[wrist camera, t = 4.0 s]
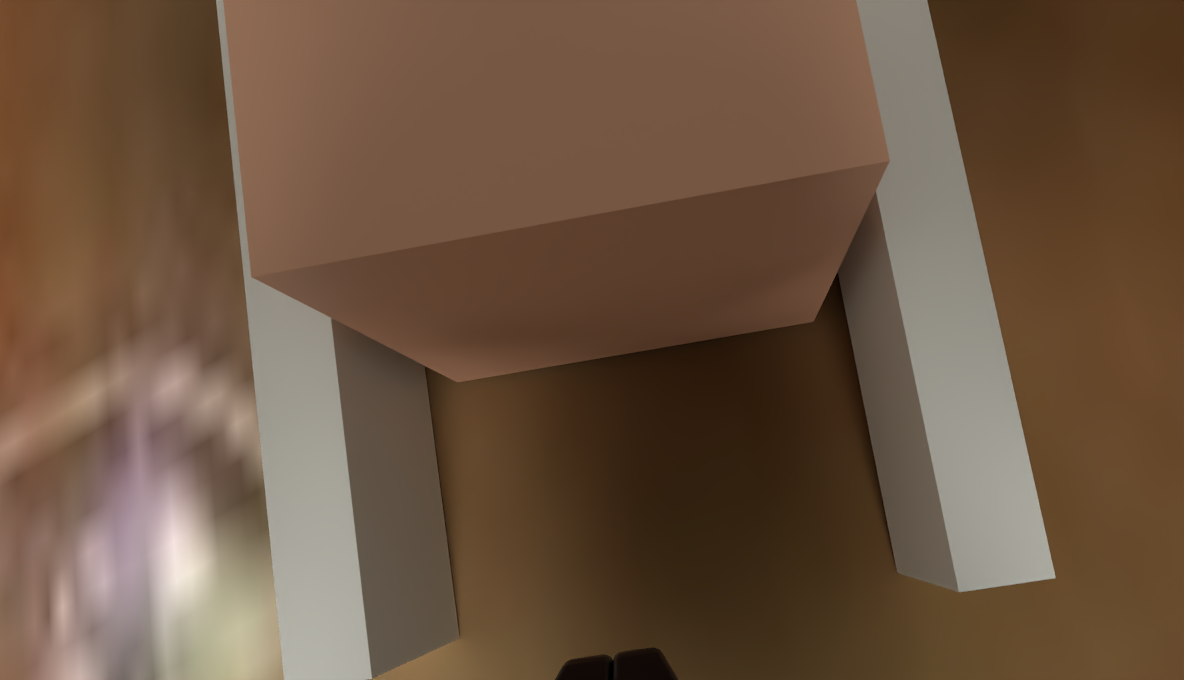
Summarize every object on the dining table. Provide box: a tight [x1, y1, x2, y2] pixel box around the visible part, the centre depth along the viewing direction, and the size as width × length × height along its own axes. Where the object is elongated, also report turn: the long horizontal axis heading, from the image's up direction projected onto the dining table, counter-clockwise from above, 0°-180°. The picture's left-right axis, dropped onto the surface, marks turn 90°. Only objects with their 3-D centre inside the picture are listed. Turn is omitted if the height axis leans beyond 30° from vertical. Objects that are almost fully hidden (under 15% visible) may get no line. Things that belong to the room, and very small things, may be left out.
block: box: [223, 0, 890, 383], centre depth 16 cm, size 7×6×9 cm
